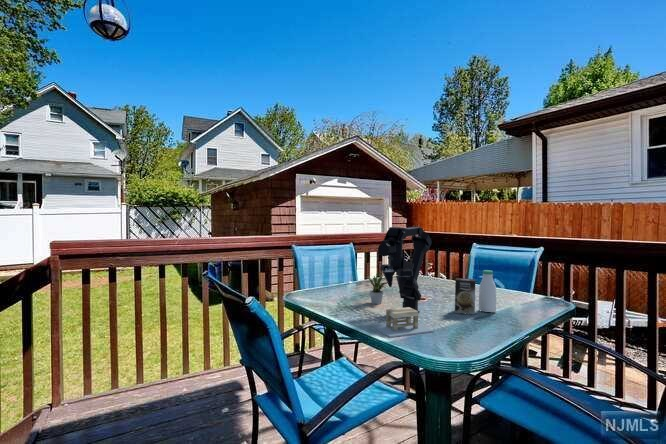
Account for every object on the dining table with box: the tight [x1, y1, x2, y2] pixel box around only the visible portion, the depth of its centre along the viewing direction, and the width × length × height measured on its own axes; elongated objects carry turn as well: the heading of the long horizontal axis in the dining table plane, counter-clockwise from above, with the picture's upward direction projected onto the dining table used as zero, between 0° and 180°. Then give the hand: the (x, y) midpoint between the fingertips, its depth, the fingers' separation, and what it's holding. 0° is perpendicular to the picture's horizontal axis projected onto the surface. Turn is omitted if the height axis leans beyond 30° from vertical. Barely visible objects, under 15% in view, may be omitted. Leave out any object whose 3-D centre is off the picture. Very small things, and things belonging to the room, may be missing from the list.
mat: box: [371, 319, 435, 339], centre depth 139 cm, size 20×15×1 cm
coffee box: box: [454, 277, 476, 315], centre depth 164 cm, size 9×6×16 cm
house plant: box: [364, 273, 389, 305], centre depth 180 cm, size 14×14×16 cm
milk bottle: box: [478, 269, 497, 313], centre depth 166 cm, size 8×8×20 cm
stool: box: [385, 307, 419, 331], centre depth 139 cm, size 6×11×7 cm, turn 111°
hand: (395, 288), depth 155 cm, fingers open, 9 cm apart
